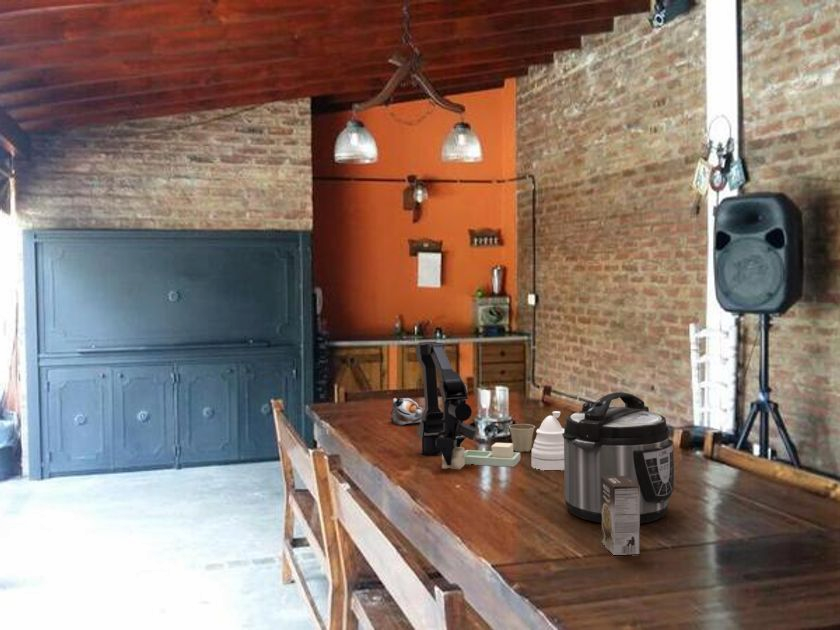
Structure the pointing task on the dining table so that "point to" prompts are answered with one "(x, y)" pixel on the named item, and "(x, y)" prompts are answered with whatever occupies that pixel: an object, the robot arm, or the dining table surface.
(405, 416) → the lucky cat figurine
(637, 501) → the coffee box
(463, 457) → the maple cube
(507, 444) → the tray
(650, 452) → the pressure cooker
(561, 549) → the dining table surface
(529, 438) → the flower pot
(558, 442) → the honey pot
